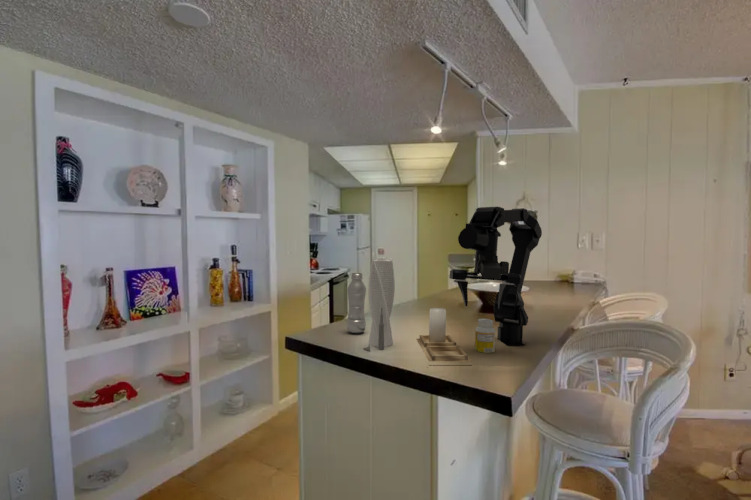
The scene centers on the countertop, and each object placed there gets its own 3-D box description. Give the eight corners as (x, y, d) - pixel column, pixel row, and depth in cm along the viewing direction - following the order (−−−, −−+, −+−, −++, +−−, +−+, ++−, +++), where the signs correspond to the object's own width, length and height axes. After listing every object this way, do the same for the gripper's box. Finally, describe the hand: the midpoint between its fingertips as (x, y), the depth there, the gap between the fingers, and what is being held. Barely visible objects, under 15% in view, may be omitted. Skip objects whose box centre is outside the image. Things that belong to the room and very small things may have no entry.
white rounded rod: (443, 340, 120) (444, 307, 119) (447, 345, 115) (447, 310, 114) (427, 340, 119) (428, 307, 119) (430, 345, 115) (431, 310, 114)
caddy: (451, 342, 122) (451, 334, 122) (472, 365, 100) (472, 356, 100) (416, 342, 122) (416, 334, 122) (428, 365, 100) (429, 356, 100)
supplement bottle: (489, 358, 107) (490, 323, 106) (471, 354, 110) (472, 320, 110) (497, 354, 111) (498, 320, 111) (479, 350, 114) (480, 317, 114)
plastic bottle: (344, 334, 130) (345, 274, 130) (349, 330, 137) (349, 272, 136) (363, 335, 129) (364, 274, 128) (367, 331, 136) (368, 272, 135)
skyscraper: (359, 348, 114) (361, 251, 113) (378, 343, 120) (380, 251, 119) (381, 354, 108) (383, 252, 108) (400, 349, 114) (401, 252, 114)
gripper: (458, 248, 103) (454, 308, 103) (530, 253, 102) (526, 313, 102) (451, 249, 114) (447, 303, 114) (516, 254, 114) (512, 308, 113)
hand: (482, 307), depth 110 cm, fingers open, 9 cm apart
